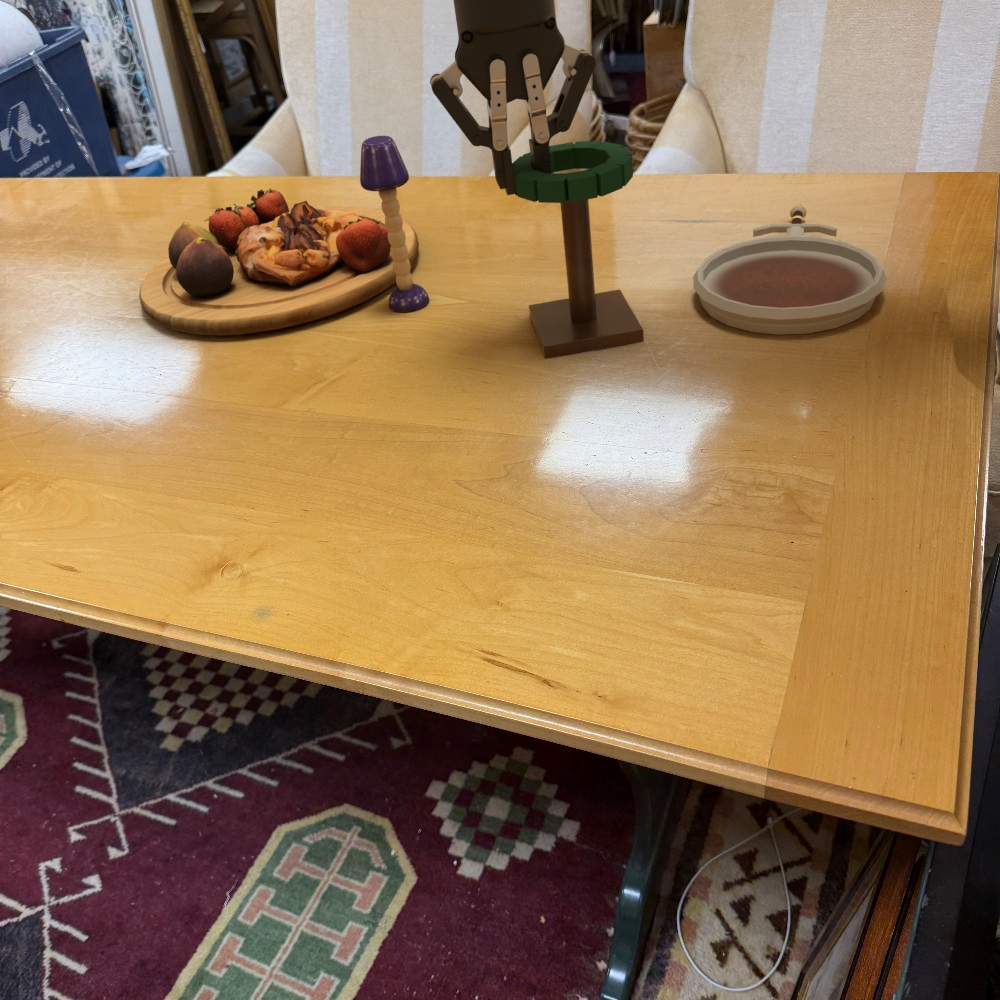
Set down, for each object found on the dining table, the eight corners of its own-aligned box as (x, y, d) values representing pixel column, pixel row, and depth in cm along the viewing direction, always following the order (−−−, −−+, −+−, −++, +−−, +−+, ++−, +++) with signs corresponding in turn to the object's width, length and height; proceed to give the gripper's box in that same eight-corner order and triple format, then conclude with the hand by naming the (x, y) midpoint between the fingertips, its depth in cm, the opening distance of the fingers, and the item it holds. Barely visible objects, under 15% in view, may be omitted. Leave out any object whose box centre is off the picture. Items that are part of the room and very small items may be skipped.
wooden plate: (478, 248, 104) (467, 176, 99) (251, 369, 87) (225, 288, 82) (307, 210, 123) (291, 147, 118) (93, 303, 106) (64, 234, 101)
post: (620, 300, 89) (613, 163, 81) (643, 341, 81) (638, 194, 73) (529, 316, 88) (513, 180, 80) (545, 358, 81) (529, 213, 73)
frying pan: (884, 195, 95) (889, 309, 74) (881, 222, 97) (885, 341, 76) (718, 198, 100) (679, 305, 79) (718, 224, 102) (679, 336, 81)
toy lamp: (441, 301, 94) (411, 134, 84) (407, 319, 91) (372, 149, 81) (411, 291, 97) (379, 129, 87) (378, 308, 94) (340, 143, 84)
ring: (616, 155, 81) (615, 134, 80) (644, 189, 73) (644, 167, 72) (505, 174, 81) (503, 153, 80) (522, 211, 73) (519, 188, 72)
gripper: (407, -26, 63) (448, 218, 73) (602, -58, 63) (615, 189, 74) (403, -37, 69) (441, 189, 79) (581, -67, 70) (596, 163, 80)
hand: (525, 188), depth 77 cm, fingers closed on ring, 2 cm apart
